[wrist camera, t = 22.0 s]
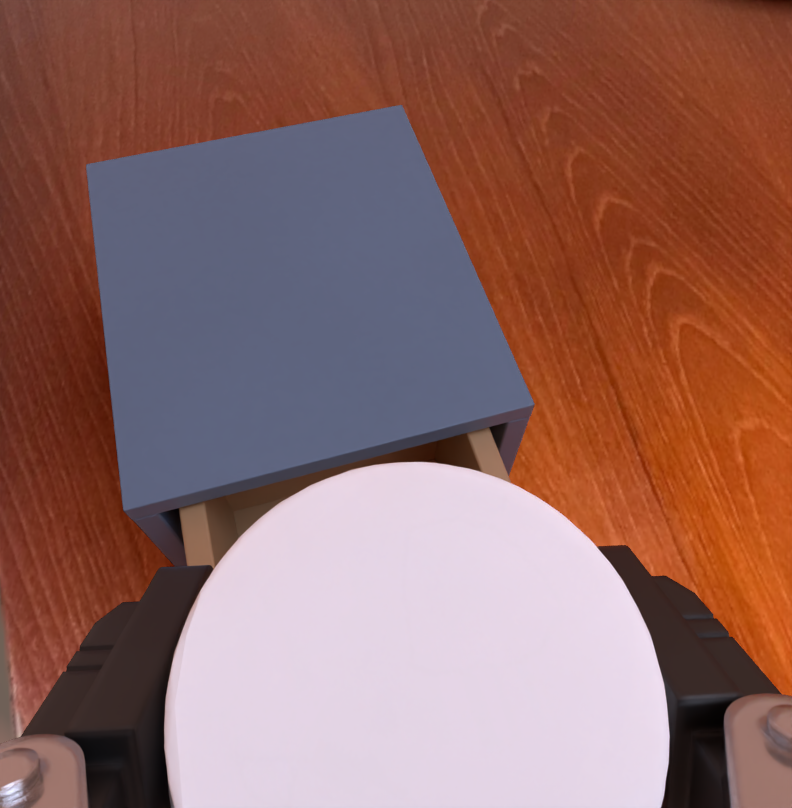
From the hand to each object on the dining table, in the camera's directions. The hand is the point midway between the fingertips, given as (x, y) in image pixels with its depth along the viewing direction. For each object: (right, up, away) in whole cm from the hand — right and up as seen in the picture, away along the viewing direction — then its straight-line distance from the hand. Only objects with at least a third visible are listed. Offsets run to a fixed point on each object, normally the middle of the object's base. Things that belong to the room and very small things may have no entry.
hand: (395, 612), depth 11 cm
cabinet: (-4, +3, +22) cm, 23 cm away
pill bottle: (0, -4, +3) cm, 5 cm away
